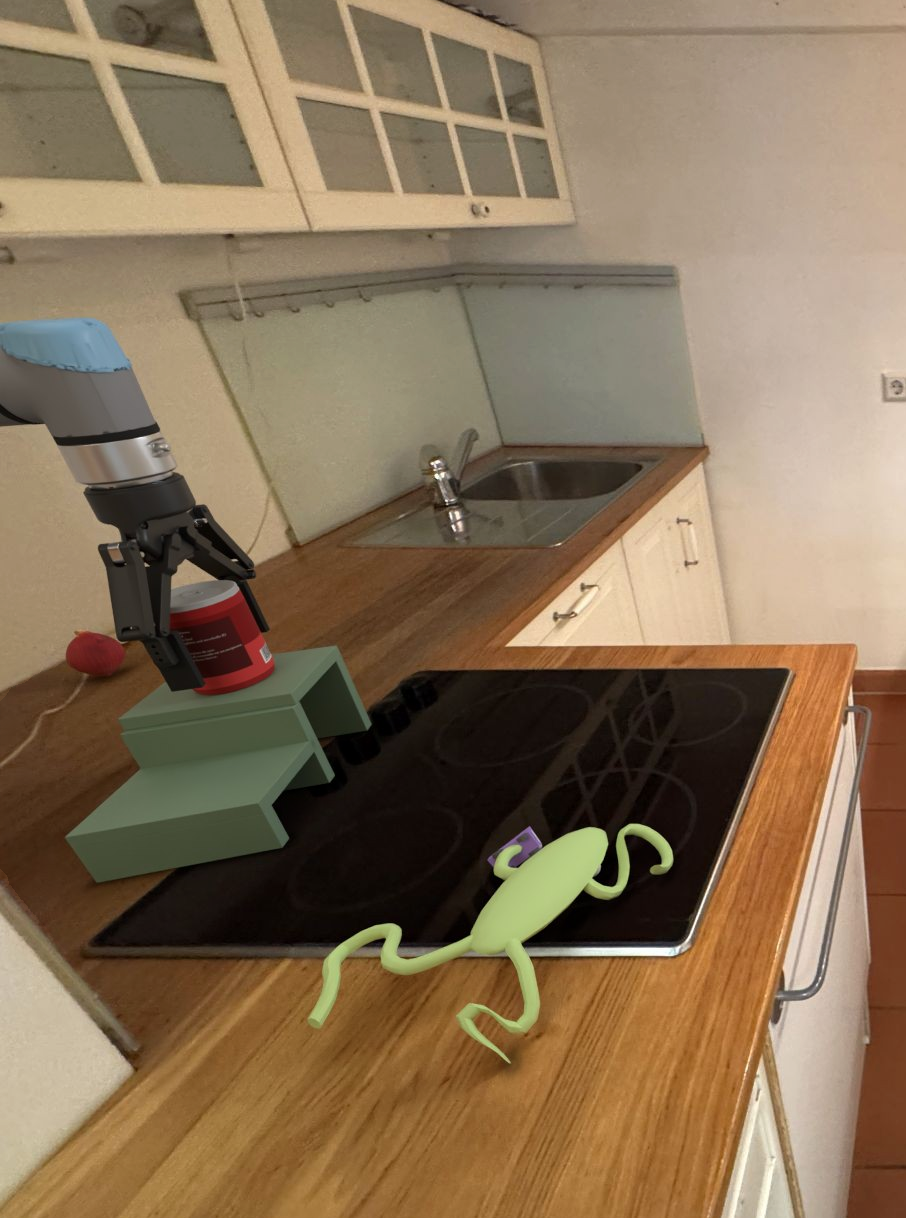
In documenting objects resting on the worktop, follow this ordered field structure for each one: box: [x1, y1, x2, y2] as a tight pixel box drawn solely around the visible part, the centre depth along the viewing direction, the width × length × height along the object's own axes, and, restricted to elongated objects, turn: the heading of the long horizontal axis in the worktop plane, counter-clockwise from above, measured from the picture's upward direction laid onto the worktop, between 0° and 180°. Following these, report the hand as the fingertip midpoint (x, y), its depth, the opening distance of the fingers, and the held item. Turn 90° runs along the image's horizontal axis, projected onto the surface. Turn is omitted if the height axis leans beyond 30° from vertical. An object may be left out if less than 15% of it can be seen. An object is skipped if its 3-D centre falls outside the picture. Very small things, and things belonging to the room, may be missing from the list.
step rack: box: [64, 645, 372, 884], centre depth 87 cm, size 16×24×12 cm, turn 16°
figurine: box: [306, 823, 674, 1065], centre depth 68 cm, size 18×27×6 cm
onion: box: [65, 628, 126, 678], centre depth 114 cm, size 6×6×8 cm
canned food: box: [154, 579, 275, 695], centre depth 87 cm, size 8×8×11 cm
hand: (224, 658), depth 88 cm, fingers open, 13 cm apart
